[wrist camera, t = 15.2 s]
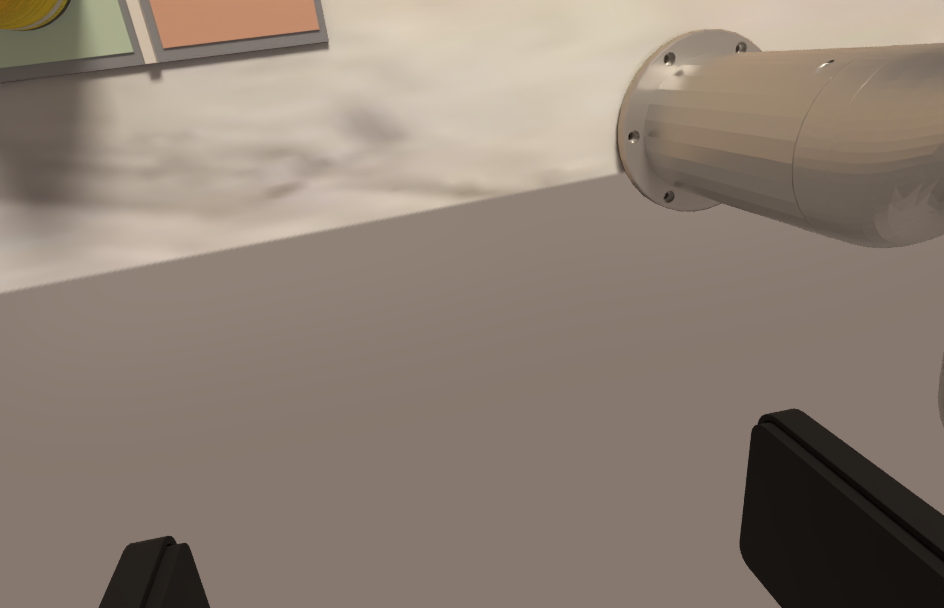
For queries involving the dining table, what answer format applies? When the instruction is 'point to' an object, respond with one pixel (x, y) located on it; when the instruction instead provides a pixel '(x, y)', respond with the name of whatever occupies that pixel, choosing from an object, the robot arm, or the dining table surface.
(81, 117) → the dining table surface
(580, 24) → the dining table surface
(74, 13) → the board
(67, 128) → the dining table surface
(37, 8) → the pill bottle
